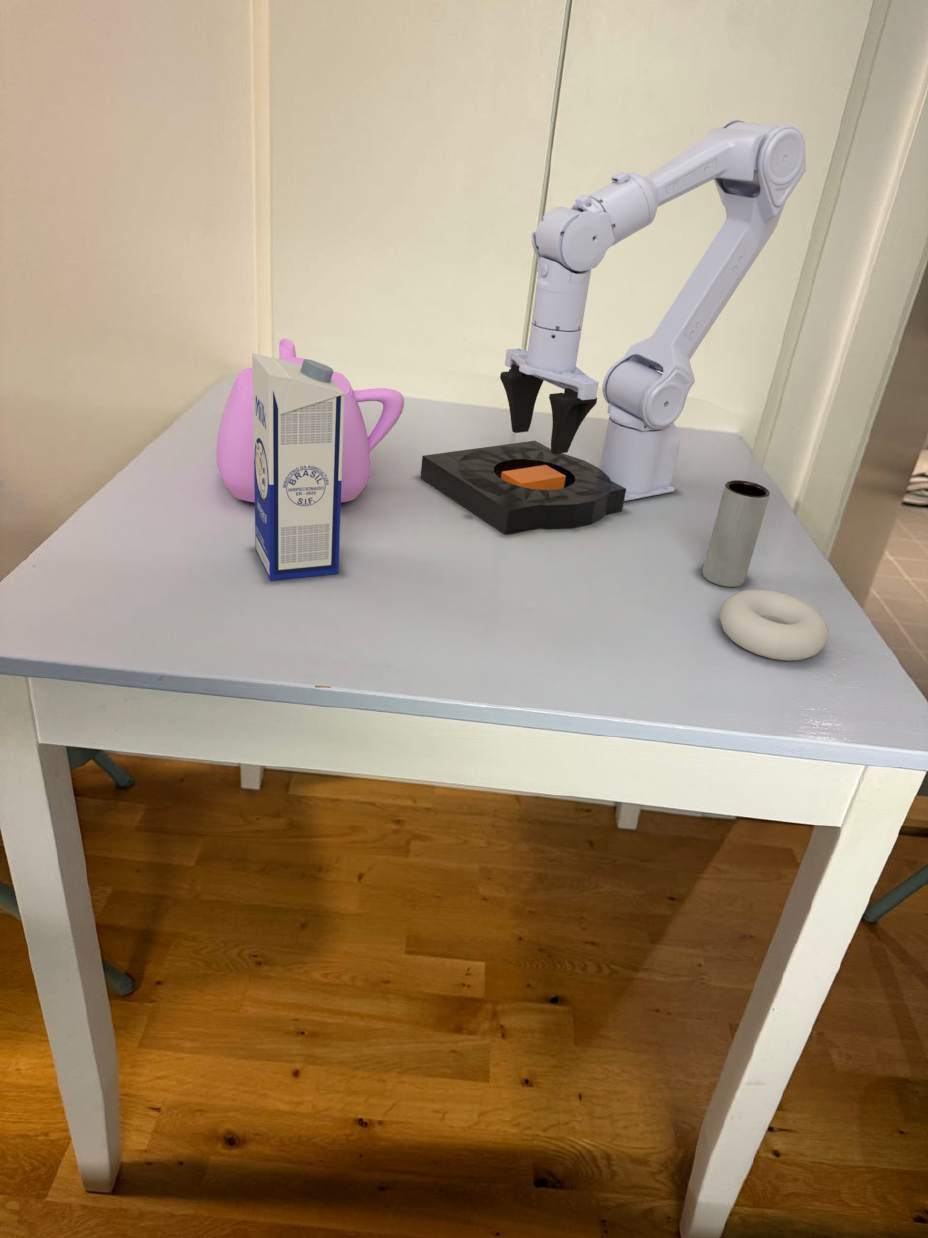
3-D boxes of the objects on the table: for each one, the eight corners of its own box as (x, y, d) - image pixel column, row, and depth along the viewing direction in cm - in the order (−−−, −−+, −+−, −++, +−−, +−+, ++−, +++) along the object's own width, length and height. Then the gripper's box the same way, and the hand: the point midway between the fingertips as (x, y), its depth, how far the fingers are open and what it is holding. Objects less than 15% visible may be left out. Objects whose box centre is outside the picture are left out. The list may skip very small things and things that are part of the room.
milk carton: (254, 549, 91) (251, 350, 81) (319, 543, 93) (324, 350, 84) (270, 581, 85) (269, 372, 75) (339, 574, 88) (346, 371, 78)
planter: (745, 574, 98) (771, 485, 92) (742, 591, 94) (769, 500, 89) (703, 564, 99) (727, 476, 94) (699, 581, 95) (723, 490, 90)
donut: (796, 616, 91) (701, 609, 89) (806, 586, 89) (710, 579, 87) (840, 671, 82) (736, 665, 81) (852, 639, 80) (747, 632, 79)
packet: (542, 486, 114) (545, 464, 113) (562, 498, 111) (566, 475, 110) (498, 494, 110) (501, 471, 109) (518, 506, 108) (521, 483, 106)
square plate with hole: (540, 460, 123) (543, 439, 121) (639, 514, 109) (644, 491, 108) (420, 478, 112) (422, 455, 111) (513, 540, 99) (516, 515, 98)
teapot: (409, 517, 101) (419, 386, 94) (216, 517, 96) (211, 377, 89) (381, 448, 120) (387, 333, 113) (219, 444, 115) (214, 324, 108)
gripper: (490, 311, 103) (477, 425, 110) (571, 343, 94) (551, 466, 100) (537, 310, 107) (522, 420, 114) (620, 340, 97) (598, 459, 104)
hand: (539, 441), depth 107 cm, fingers open, 7 cm apart
